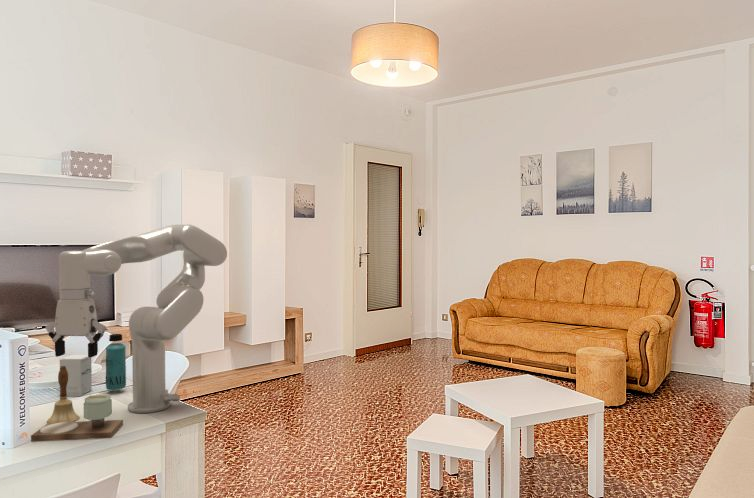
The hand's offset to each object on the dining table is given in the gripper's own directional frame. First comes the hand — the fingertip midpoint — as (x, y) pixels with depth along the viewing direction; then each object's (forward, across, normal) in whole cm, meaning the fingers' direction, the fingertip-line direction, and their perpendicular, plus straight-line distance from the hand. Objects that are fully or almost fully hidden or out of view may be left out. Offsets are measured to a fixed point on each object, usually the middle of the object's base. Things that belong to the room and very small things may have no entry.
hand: (76, 355), depth 156 cm
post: (+19, -7, +2) cm, 20 cm away
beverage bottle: (+21, +10, -35) cm, 42 cm away
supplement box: (+21, +22, -32) cm, 44 cm away
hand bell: (+21, +8, -6) cm, 23 cm away
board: (+20, -3, +3) cm, 21 cm away
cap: (+16, -8, +2) cm, 18 cm away
